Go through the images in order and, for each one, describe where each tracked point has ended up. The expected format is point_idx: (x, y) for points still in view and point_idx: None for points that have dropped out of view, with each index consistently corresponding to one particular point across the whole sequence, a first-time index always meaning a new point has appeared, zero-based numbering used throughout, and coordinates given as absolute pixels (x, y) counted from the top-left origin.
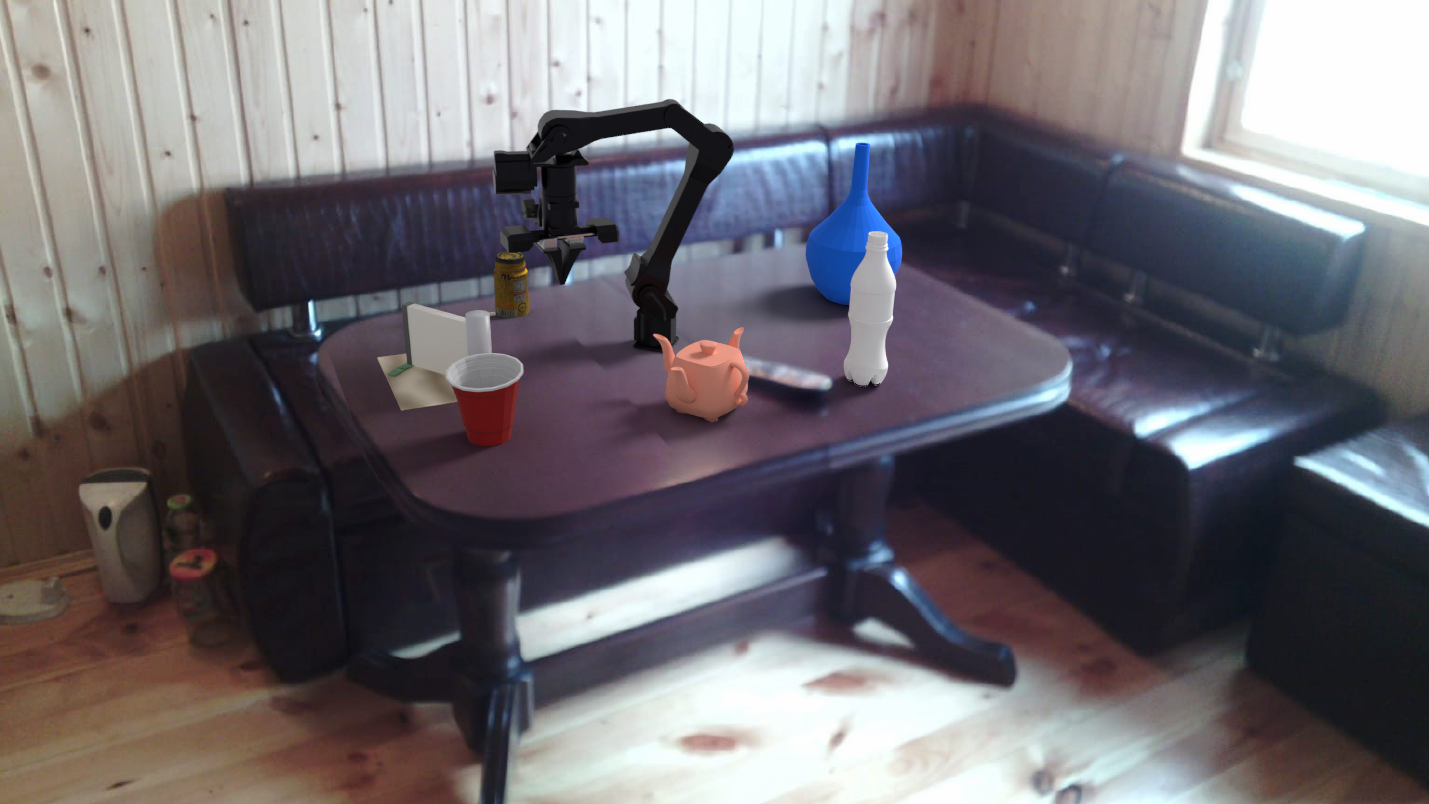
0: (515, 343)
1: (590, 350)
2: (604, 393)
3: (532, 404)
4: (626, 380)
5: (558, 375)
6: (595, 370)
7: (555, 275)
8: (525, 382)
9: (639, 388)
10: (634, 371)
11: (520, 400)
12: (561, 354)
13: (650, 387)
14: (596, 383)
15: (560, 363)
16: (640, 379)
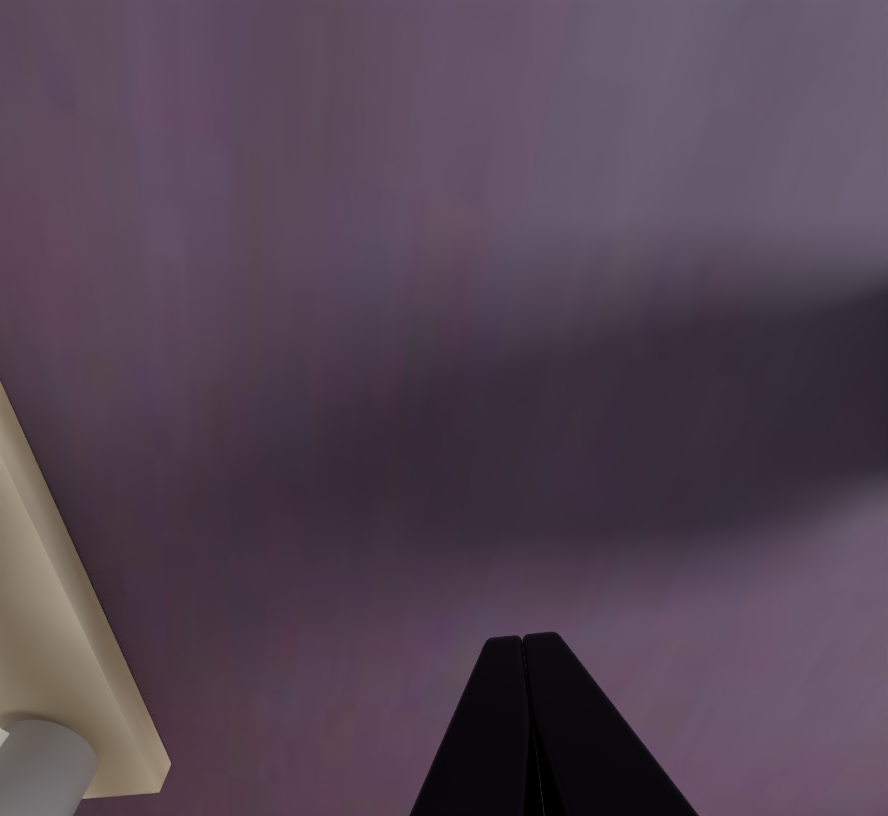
0: (191, 148)
1: (642, 364)
2: None
3: (271, 797)
4: (690, 703)
5: (405, 609)
6: (589, 596)
7: (451, 729)
8: (248, 641)
9: (712, 768)
10: (763, 638)
11: (226, 765)
12: (463, 384)
13: (759, 769)
14: None
15: (436, 492)
16: (752, 707)
